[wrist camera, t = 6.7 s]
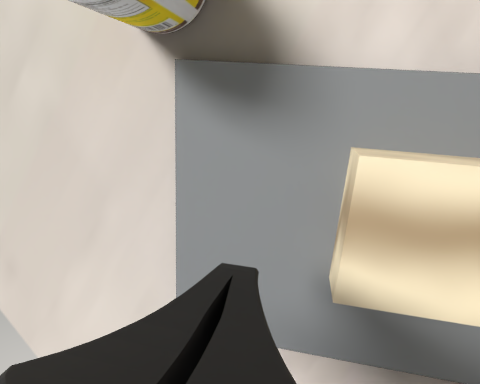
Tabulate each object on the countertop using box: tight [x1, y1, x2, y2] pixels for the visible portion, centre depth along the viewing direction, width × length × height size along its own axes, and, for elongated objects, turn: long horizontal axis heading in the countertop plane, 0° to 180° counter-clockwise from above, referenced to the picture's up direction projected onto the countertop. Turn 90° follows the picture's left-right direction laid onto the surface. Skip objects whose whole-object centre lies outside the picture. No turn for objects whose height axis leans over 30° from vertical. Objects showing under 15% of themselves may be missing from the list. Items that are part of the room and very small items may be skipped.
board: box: [175, 59, 480, 384], centre depth 18 cm, size 18×21×1 cm
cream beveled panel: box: [329, 147, 480, 327], centre depth 16 cm, size 8×8×2 cm
